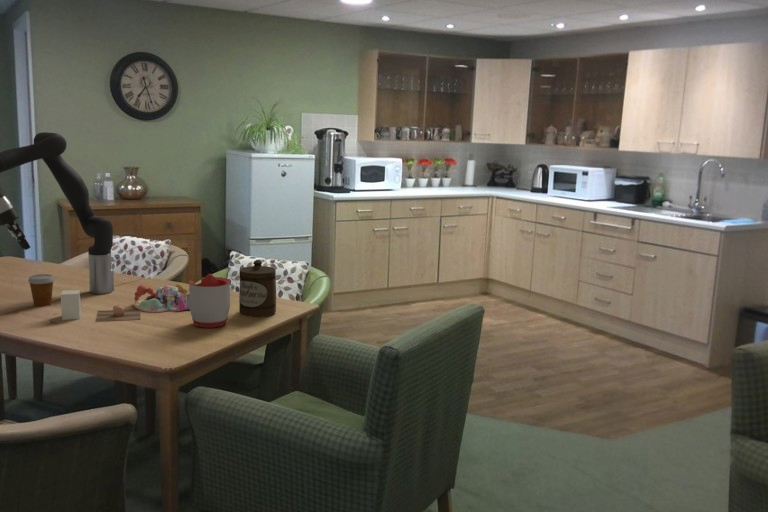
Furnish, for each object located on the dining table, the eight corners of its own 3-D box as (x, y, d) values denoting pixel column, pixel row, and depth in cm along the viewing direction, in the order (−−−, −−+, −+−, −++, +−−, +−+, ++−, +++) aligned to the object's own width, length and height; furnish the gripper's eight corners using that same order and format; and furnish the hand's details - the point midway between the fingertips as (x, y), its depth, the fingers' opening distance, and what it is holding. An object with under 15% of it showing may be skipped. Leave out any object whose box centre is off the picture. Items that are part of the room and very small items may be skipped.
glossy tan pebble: (119, 313, 278) (118, 304, 277) (126, 315, 276) (126, 306, 275) (111, 315, 274) (110, 306, 273) (118, 317, 272) (118, 308, 272)
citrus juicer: (206, 315, 282) (206, 266, 278) (239, 323, 273) (239, 273, 269) (176, 324, 269) (176, 273, 265) (210, 332, 260) (210, 279, 256)
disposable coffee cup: (45, 309, 281) (43, 279, 279) (24, 307, 283) (22, 277, 281) (60, 303, 290) (59, 275, 288) (40, 301, 292) (38, 273, 290)
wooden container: (232, 314, 285) (232, 261, 281) (251, 306, 299) (252, 255, 295) (263, 319, 280) (264, 265, 276) (282, 310, 294) (283, 259, 290)
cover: (63, 315, 272) (62, 290, 270) (81, 314, 274) (80, 290, 272) (62, 320, 266) (60, 294, 264) (79, 319, 268) (78, 293, 266)
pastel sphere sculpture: (174, 296, 309) (174, 275, 308) (210, 306, 296) (210, 285, 294) (124, 305, 289) (124, 283, 287) (160, 316, 276) (160, 293, 274)
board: (97, 312, 280) (97, 310, 280) (140, 310, 285) (140, 309, 285) (95, 323, 265) (95, 322, 265) (140, 321, 270) (140, 319, 270)
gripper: (14, 205, 258) (38, 244, 263) (11, 206, 270) (33, 242, 275) (-6, 215, 255) (19, 254, 260) (-9, 215, 267) (15, 252, 272)
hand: (26, 248), depth 268 cm, fingers open, 8 cm apart
